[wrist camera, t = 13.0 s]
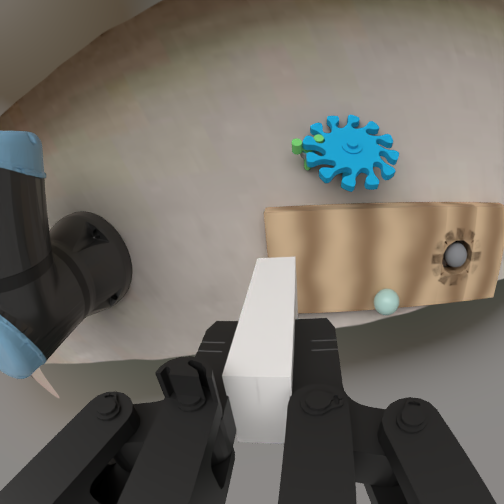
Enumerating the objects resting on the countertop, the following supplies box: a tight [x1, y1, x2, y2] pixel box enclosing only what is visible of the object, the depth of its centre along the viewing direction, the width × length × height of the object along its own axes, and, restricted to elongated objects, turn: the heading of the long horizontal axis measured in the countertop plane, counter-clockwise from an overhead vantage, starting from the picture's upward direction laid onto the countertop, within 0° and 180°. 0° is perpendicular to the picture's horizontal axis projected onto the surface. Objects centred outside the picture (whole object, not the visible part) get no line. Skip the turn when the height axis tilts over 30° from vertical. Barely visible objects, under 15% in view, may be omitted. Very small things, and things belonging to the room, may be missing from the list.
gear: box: [292, 115, 399, 192], centre depth 31 cm, size 11×6×10 cm
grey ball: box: [444, 242, 467, 267], centre depth 33 cm, size 3×3×3 cm
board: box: [264, 202, 504, 313], centre depth 35 cm, size 32×13×2 cm, turn 96°
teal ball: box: [374, 289, 399, 315], centre depth 34 cm, size 3×3×3 cm
